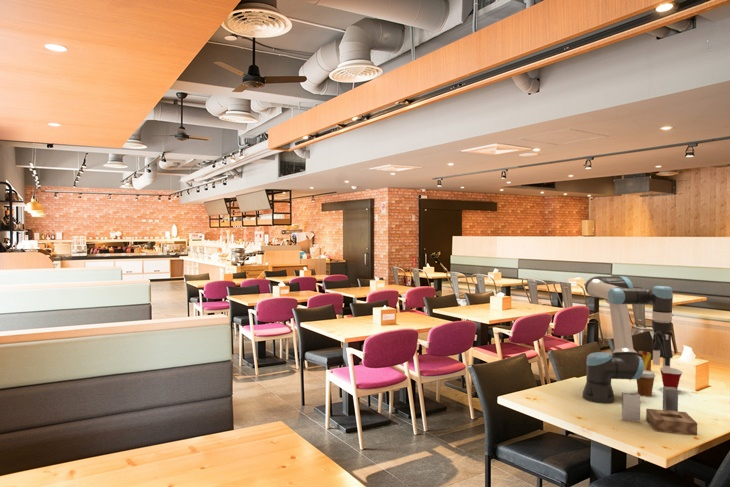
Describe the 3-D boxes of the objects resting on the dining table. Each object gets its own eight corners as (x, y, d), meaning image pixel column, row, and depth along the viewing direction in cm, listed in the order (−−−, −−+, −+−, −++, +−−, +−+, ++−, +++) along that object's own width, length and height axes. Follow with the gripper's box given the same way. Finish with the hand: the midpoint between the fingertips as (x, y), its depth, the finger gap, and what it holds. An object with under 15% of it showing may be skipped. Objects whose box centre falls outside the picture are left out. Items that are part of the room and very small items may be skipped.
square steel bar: (665, 414, 235) (666, 389, 235) (662, 411, 240) (662, 386, 240) (677, 415, 234) (678, 390, 234) (674, 412, 239) (674, 387, 238)
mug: (630, 373, 307) (630, 354, 307) (634, 369, 318) (635, 350, 317) (648, 376, 301) (648, 356, 301) (652, 371, 311) (652, 352, 311)
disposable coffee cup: (635, 395, 263) (636, 373, 263) (633, 390, 272) (633, 368, 272) (656, 398, 260) (656, 375, 259) (653, 392, 268) (653, 370, 268)
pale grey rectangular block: (623, 420, 228) (623, 394, 227) (621, 418, 230) (621, 392, 230) (640, 422, 226) (640, 395, 225) (638, 419, 228) (638, 393, 228)
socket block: (654, 430, 215) (654, 419, 215) (646, 419, 229) (646, 408, 229) (697, 435, 211) (697, 423, 211) (685, 423, 224) (686, 412, 224)
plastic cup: (673, 395, 264) (674, 373, 264) (654, 389, 274) (655, 368, 274) (687, 393, 268) (687, 370, 268) (668, 387, 278) (668, 366, 278)
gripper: (682, 326, 208) (680, 377, 209) (662, 316, 233) (661, 362, 233) (661, 325, 210) (660, 375, 211) (644, 316, 234) (643, 361, 235)
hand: (661, 368), depth 222 cm, fingers open, 13 cm apart
